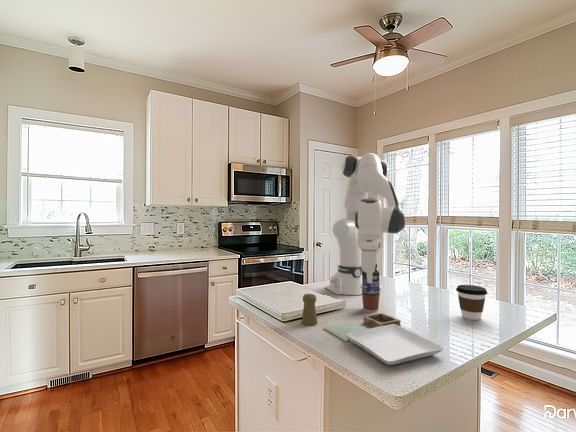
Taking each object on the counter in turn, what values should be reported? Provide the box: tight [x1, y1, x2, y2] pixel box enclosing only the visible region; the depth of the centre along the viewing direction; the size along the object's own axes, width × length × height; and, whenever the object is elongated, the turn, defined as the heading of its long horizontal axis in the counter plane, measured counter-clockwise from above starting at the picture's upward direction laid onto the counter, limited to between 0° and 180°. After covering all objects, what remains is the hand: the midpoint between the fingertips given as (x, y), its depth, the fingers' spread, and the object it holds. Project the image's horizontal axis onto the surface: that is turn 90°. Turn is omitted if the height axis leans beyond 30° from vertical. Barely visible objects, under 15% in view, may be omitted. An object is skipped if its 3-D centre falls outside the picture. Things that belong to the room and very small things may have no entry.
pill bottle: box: [361, 263, 381, 296], centre depth 113 cm, size 6×6×11 cm
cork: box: [301, 293, 318, 327], centre depth 118 cm, size 6×6×11 cm
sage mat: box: [323, 321, 368, 343], centre depth 110 cm, size 13×13×1 cm
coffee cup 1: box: [360, 284, 382, 313], centre depth 135 cm, size 9×9×12 cm
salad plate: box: [345, 324, 444, 366], centre depth 96 cm, size 21×21×3 cm
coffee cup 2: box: [455, 284, 488, 321], centre depth 124 cm, size 11×11×12 cm
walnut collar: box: [362, 312, 401, 328], centre depth 116 cm, size 9×9×2 cm
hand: (370, 280), depth 113 cm, fingers closed on pill bottle, 6 cm apart
